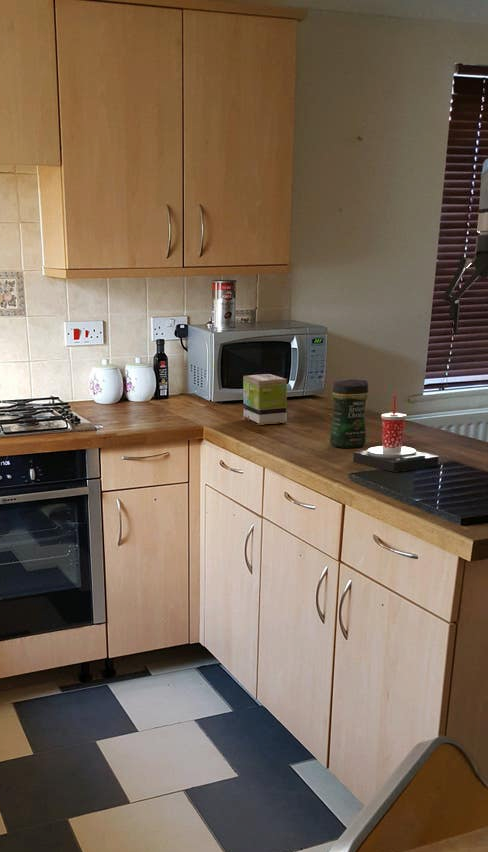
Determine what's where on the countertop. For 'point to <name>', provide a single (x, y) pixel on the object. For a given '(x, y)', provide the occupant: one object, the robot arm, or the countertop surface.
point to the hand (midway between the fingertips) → (485, 332)
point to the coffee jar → (349, 413)
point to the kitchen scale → (395, 459)
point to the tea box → (265, 398)
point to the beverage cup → (392, 430)
